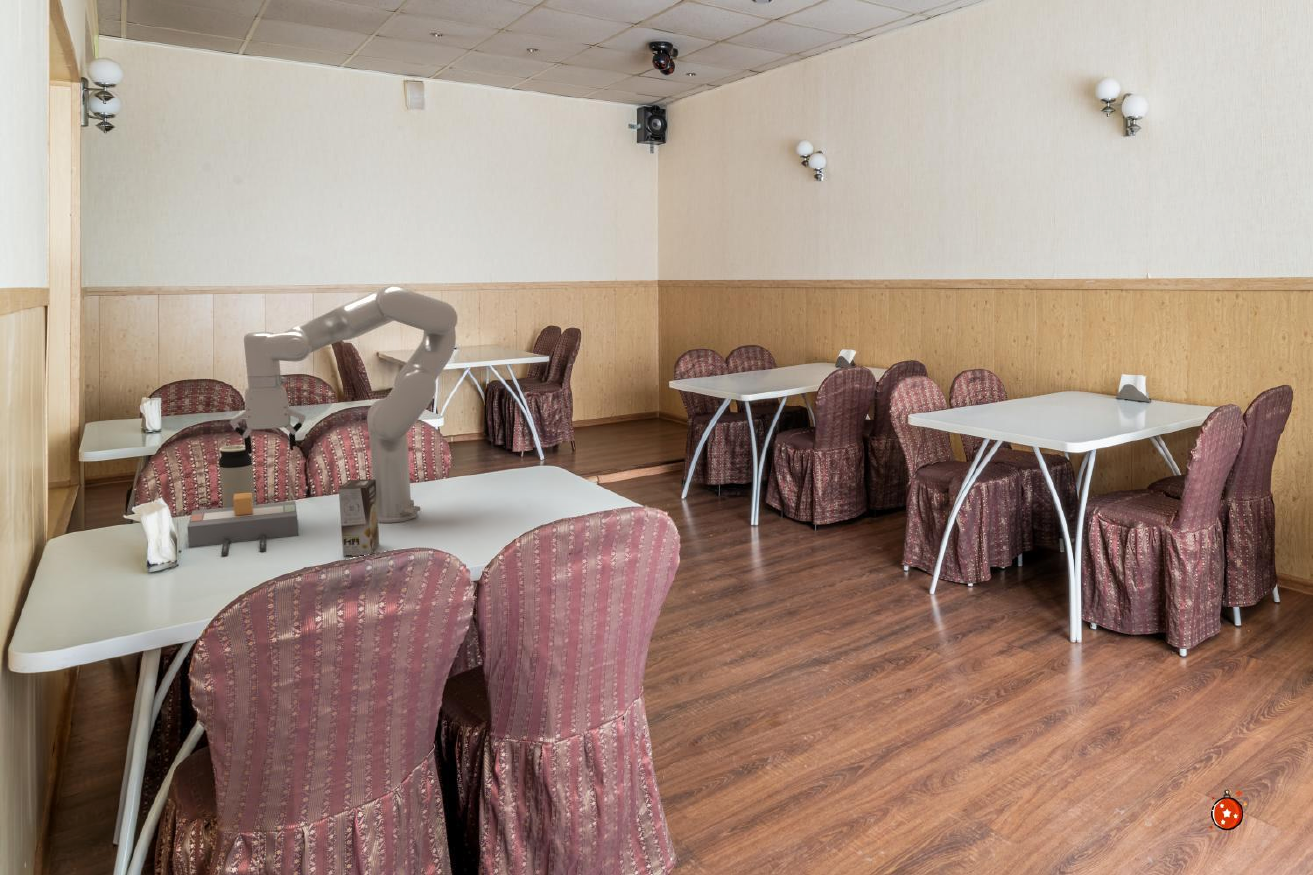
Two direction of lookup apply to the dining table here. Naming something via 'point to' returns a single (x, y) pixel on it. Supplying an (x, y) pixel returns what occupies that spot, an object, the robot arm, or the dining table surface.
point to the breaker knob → (243, 503)
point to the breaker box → (242, 525)
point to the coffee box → (359, 517)
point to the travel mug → (235, 473)
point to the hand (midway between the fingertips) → (271, 451)
